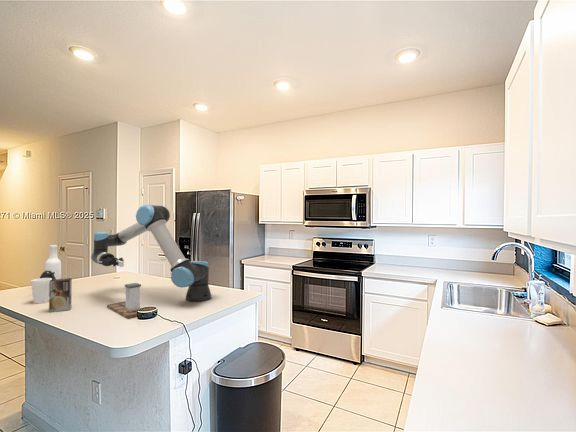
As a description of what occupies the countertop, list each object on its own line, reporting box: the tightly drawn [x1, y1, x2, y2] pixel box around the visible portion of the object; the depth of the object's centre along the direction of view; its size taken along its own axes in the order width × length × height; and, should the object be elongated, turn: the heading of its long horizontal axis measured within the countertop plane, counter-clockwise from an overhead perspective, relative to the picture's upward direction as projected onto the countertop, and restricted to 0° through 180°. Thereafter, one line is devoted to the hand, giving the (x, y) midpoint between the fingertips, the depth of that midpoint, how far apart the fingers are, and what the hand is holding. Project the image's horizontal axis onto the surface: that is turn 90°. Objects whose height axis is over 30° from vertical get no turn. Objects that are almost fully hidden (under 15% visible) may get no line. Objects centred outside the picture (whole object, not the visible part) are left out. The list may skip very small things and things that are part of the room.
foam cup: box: [30, 277, 52, 305], centre depth 175 cm, size 10×9×13 cm
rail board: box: [106, 300, 143, 320], centre depth 161 cm, size 28×10×2 cm, turn 49°
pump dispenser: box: [39, 270, 56, 279], centre depth 192 cm, size 10×10×15 cm
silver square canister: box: [124, 282, 142, 312], centre depth 157 cm, size 6×6×13 cm
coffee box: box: [48, 277, 73, 313], centre depth 161 cm, size 9×6×16 cm
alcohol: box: [44, 244, 62, 279], centre depth 206 cm, size 9×9×30 cm
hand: (122, 264), depth 167 cm, fingers closed
